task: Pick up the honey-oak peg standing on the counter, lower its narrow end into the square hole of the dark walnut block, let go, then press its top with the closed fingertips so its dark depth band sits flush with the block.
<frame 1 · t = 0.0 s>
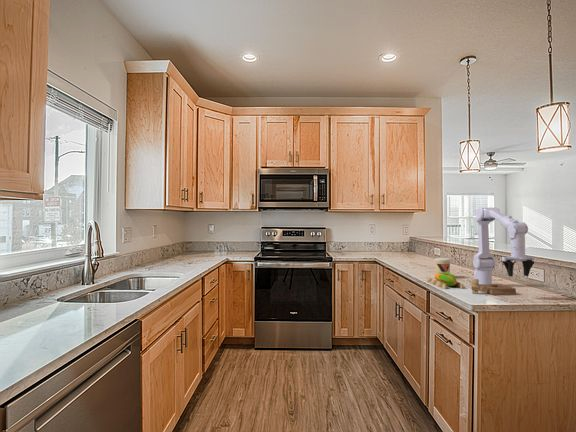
hand: (518, 275, 164), 10 cm above the countertop, tool pointing down, fingers open, 7 cm apart
corn: (443, 285, 196), on the countertop
coffee cup: (442, 277, 219), on the countertop
chock rails: (444, 284, 196), on the countertop
peg: (475, 293, 173), on the countertop
walnut block: (496, 292, 175), on the countertop
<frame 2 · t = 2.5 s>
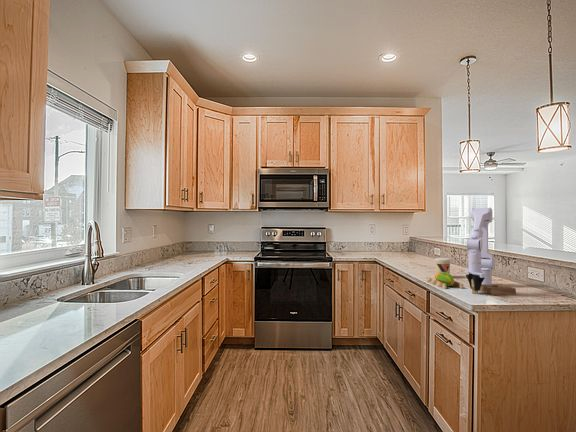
hand: (475, 289, 173), 2 cm above the countertop, tool pointing down, fingers closed on peg, 3 cm apart
peg: (475, 293, 173), on the countertop, touching gripper
when the fingers open (4 cm above the countertop, at t = 6.2 s): peg drops 2 cm, resting in walnut block.
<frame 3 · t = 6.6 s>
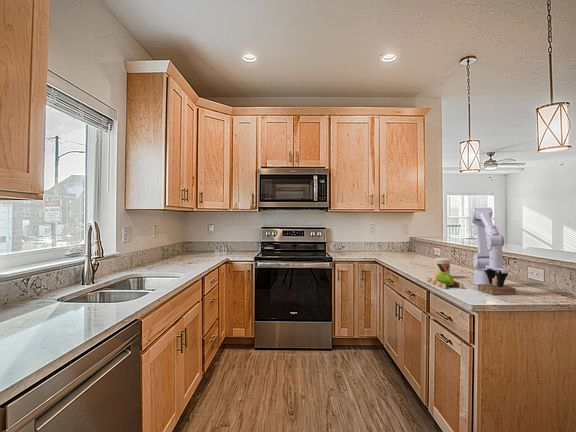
hand: (496, 285, 175), 4 cm above the countertop, tool pointing down, fingers open, 7 cm apart
peg: (496, 292, 175), resting in walnut block
everything else where it was.
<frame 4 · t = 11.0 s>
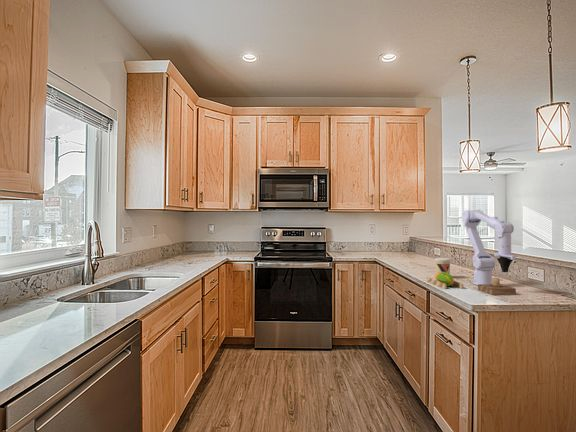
hand: (505, 272, 177), 10 cm above the countertop, tool pointing down, fingers closed
nothing on the countertop moved.
at the end: peg 0.1 cm off-centre on the walnut block, point 0.0 cm above the walnut block's base; peg tilted 1°; the gripper is holding nothing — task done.
